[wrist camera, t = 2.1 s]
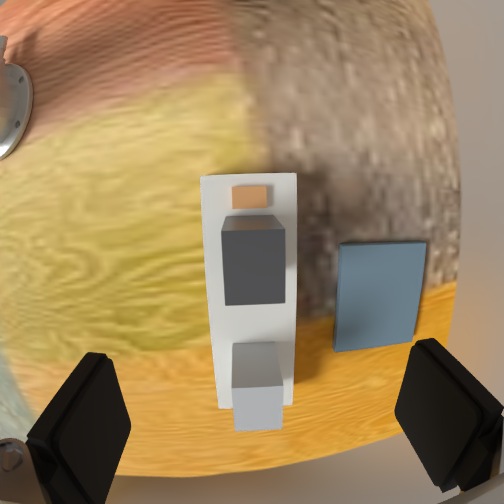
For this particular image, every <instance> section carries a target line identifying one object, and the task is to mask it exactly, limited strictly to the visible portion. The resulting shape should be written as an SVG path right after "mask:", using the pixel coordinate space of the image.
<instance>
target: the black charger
mask: <svg viewBox="0 0 504 504" xmlns="http://www.w3.org/2000/svg"><path fill="white" fill-rule="evenodd" d="M221 243H222V262H223V279H224V296H225V306H236V305H260V304H281V303H285V288H286V244H285V228H284V227H283V225H282V224H281V223H280V222H279V221H278V219H277V218H276V217H275V216H274V215H251V216H226V217H225V220H224V223H223V226H222V229H221Z"/></svg>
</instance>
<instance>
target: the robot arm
mask: <svg viewBox="0 0 504 504" xmlns="http://www.w3.org/2000/svg"><path fill="white" fill-rule="evenodd" d="M7 40H8V37H6V36H0V160H2V159H4V158H5V157H6V156H7V155H9V154H10V152H11V151H12V150H13V149H14V148H15V147H16V145H17V144H18V142H19V141H20V139H21V137H22V135H23V133H24V131H25V129H26V126H27V123H28V121H29V117H30V113H31V110H32V102H33V87H32V81H31V79H30V76H29V74H28V73H27V71H26V70H25V69H24V68H23V67H21V66H19V65H16V64H13V63H7V64H5V61H6V60H5V58H3V56H4V52H5V50H6V45H7ZM503 409H504V407H503V405H501V403H500V402H499V401H498V400H497V399H496V398H495V397H494V396H493V395H492V394H491V393H490V392H489V391H488V390H487V389H486V388H485V387H484V386H483V385H482V384H481V383H480V382H479V381H478V380H477V379H476V378H475V377H474V376H473V375H472V374H471V373H470V372H469V371H468V370H467V369H466V368H465V367H464V366H463V365H462V364H461V363H460V362H459V361H457V359H456V358H455V357H454V356H452V355H451V354H450V353H449V352H448V351H447V350H446V349H445V348H444V347H443V346H442V345H441V344H440V343H439V342H438V341H437V340H436V339H434V338H429V339H423V340H418V341H417V342H416V343H415V345H414V346H412V348H411V350H410V354H409V359H408V363H407V367H406V371H405V374H404V378H403V382H402V385H401V389H400V392H399V396H398V399H397V403H396V406H395V417H396V419H397V420H398V422H399V424H400V426H401V427H402V429H403V431H404V432H405V434H406V436H407V438H408V439H409V441H410V443H411V445H412V446H413V448H414V450H415V452H416V453H417V455H418V457H419V459H420V460H421V462H422V464H423V466H424V468H425V469H426V471H427V473H428V475H429V477H430V478H431V480H432V482H433V484H434V485H435V486H439V487H440V489H441V491H442V493H444V492H446V491H448V490H451V489H453V488H455V487H457V485H458V486H459V487H460V493H459V495H457V496H455V497H453V498H450V499H448V500H446V501H443V502H441V503H439V504H504V417H503V416H502V415H501V413H502V411H503ZM130 431H131V421H130V418H129V415H128V412H127V409H126V406H125V403H124V399H123V396H122V393H121V390H120V386H119V383H118V379H117V376H116V372H115V368H114V365H113V361H112V360H111V359H110V358H108V357H107V355H106V354H104V353H93V352H88V353H86V355H85V356H84V357H83V358H82V360H81V361H80V362H79V364H78V365H77V366H76V368H75V369H74V370H73V372H72V373H71V374H70V376H69V377H68V378H67V380H66V381H65V382H64V384H63V385H62V386H61V388H60V389H59V390H58V392H57V393H56V394H55V396H54V397H53V399H52V400H51V401H50V403H49V404H48V406H47V407H46V408H45V410H44V411H43V413H42V414H41V416H40V417H39V418H38V420H37V421H36V423H35V424H34V426H33V427H32V429H31V430H30V431H29V433H28V434H27V438H28V440H27V441H26V443H24V442H23V441H21V440H18V439H15V438H5V439H2V440H0V504H105V501H106V498H107V495H108V492H109V489H110V487H111V484H112V481H113V478H114V475H115V472H116V469H117V467H118V464H119V461H120V458H121V455H122V453H123V450H124V447H125V444H126V442H127V439H128V436H129V434H130Z"/></svg>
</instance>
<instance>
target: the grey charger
mask: <svg viewBox="0 0 504 504" xmlns="http://www.w3.org/2000/svg"><path fill="white" fill-rule="evenodd" d="M231 391H232V402H233V414H234V424H235V431H256V430H273V429H282V420H283V393H284V385H283V380H282V375H281V370H280V365H279V360H278V356H277V351H276V346H275V342H256V343H233V345H232V380H231Z"/></svg>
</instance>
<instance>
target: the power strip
mask: <svg viewBox="0 0 504 504" xmlns="http://www.w3.org/2000/svg"><path fill="white" fill-rule="evenodd" d="M200 187H201V209H202V227H203V244H204V259H205V273H206V286H207V299H208V310H209V322H210V332H211V343H212V352H213V362H214V371H215V380H216V389H217V397H218V405H219V408H233V402H232V391H231V380H232V345H233V343H256V342H275V346H276V351H277V356H278V360H279V365H280V370H281V375H282V380H283V385H284V393H283V406H285V405H292V400H293V381H294V359H295V332H296V294H297V177H296V173H257V174H227V175H207V176H200ZM251 215H274V216H275V217H276V218H277V219H278V221H279V222H280V223H281V224H282V225H283V227H284V228H285V244H286V288H285V303H281V304H260V305H236V306H225V296H224V279H223V262H222V243H221V229H222V226H223V223H224V220H225V217H226V216H251Z"/></svg>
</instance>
